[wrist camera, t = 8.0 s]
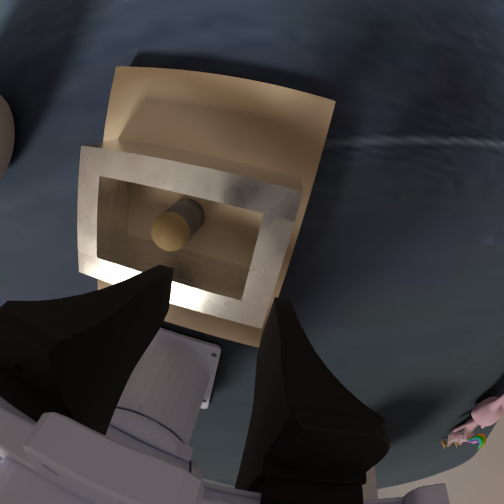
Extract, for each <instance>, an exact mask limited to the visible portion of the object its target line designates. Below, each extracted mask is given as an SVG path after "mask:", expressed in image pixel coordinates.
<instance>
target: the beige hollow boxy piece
mask: <svg viewBox="0 0 504 504" xmlns="http://www.w3.org/2000/svg"><path fill="white" fill-rule="evenodd" d="M131 182H132V183H137V184H141V185H146V186H151V187H155V188H160V189H164V190H169V191H173V192H177V193H182V194H186V195H190V196H194V197H199V198H203V199H207V200H211V201H215V202H219V203H223V204H227V205H231V206H235V207H239V208H243V209H247V210H251V211H255V212H259V213H263V214H264V215H263V218H262V222H261V226H260V230H259V234H258V238H257V242H256V246H255V250H254V254H253V257H252V261H251V265H250V268H249V267H245V266H242V265H238V264H234V263H230V262H227V261H223V260H219V259H215V258H212V257H208V256H204V255H201V254H197V253H193V252H190V251H186V250H182V249H179V250H176V251H166V250H163V249H161V248H160V247H158V246H157V245H156V244H155V242H153V241H150V240H146V239H142V238H139V237H135V236H132V235H128V234H127V227H128V214H129V202H130V191H131ZM302 195H303V187H302V182H301V178H300V177H296V176H293V175H289V174H285V173H282V172H278V171H274V170H270V169H266V168H262V167H258V166H254V165H250V164H246V163H241V162H237V161H233V160H228V159H224V158H219V157H215V156H210V155H205V154H200V153H195V152H190V151H185V150H180V149H175V148H169V147H163V146H158V145H152V144H146V143H139V142H133V141H126V140H119V139H116V140H110V141H104V142H98V143H92V144H87V145H82V146H81V154H80V166H79V182H78V214H77V228H78V261H79V272H81V273H83V274H86V275H89V276H91V277H94V278H97V279H100V280H103V281H105V282H108V283H111V284H116V283H118V282H121V281H124V280H126V279H128V278H131V277H133V276H135V275H137V274H139V273H142V272H144V271H146V270H148V269H150V268H153V267H155V266H157V265H163V266H167V267H170V268H173V269H174V272H173V280H172V288H171V297H170V303H172V304H175V305H178V306H181V307H185V308H188V309H191V310H195V311H198V312H202V313H205V314H209V315H212V316H216V317H219V318H223V319H227V320H230V321H234V322H238V323H242V324H245V325H249V326H253V327H257V328H261V329H262V326H263V323H264V320H265V317H266V314H267V310H268V307H269V304H270V301H271V298H272V295H273V292H274V288H275V285H276V282H277V279H278V276H279V272H280V269H281V266H282V263H283V259H284V256H285V253H286V249H287V246H288V243H289V239H290V236H291V233H292V229H293V226H294V223H295V219H296V216H297V212H298V209H299V205H300V202H301V198H302Z"/></svg>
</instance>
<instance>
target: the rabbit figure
mask: <svg viewBox="0 0 504 504" xmlns="http://www.w3.org/2000/svg"><path fill="white" fill-rule="evenodd" d="M503 413H504V394H503V395H502V396H501V397H500V398H498V397H489V398H487V399H485V400H482V402H480V403H478V404H477V406H475V407H474V408H473V409H472V411H471V415H472V418H471V419H468V420H467V421H466V423H465V424H462V425H460V426H458V427H455V428H453V429H452V430H451V431H450V432H449V434H448V444H446V443H445V442H446V440H445V441H444V439H443V442H442V444H443V447H444V449H445V446H447V447H449V446H450V445H451V444H452V443H453V442H454V443H455V445H456V448H457V445H462V443H463V442H470V443H477V442H478V443H479V447H478V448H481V447H482V446H483V445H484V444H485V442H486V436H485V435H484V434H482V433H479V434H476V435H475V436H473V430H474V429H475V427H477V426H478V425H481V428H484V427H485V426H490V425H492V424H494V423H495V422H497V421H498V420H499V419H500V417H501V416H502V414H503Z"/></svg>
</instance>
